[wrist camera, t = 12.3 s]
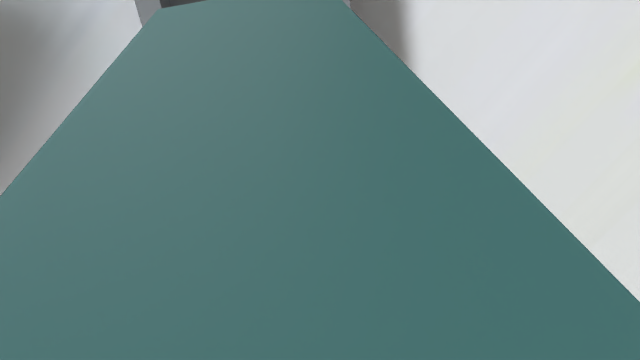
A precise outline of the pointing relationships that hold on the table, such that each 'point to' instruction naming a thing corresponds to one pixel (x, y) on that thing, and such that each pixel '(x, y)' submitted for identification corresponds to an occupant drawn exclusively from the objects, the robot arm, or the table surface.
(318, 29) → the teal sheet
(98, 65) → the table surface
